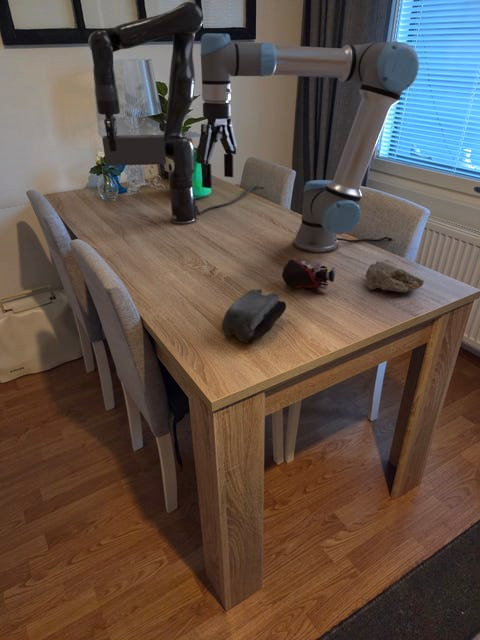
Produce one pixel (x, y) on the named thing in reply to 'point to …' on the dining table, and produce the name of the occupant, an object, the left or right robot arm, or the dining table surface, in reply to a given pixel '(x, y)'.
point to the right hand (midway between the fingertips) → (218, 182)
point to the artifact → (391, 277)
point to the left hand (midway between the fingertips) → (113, 149)
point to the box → (135, 150)
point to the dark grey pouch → (252, 315)
